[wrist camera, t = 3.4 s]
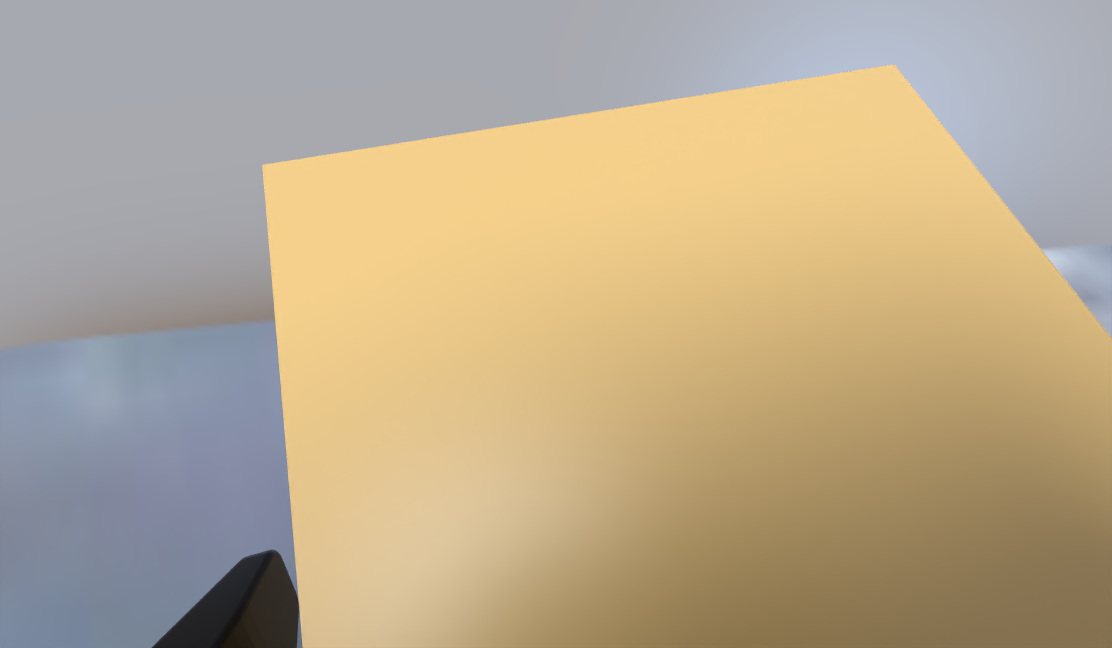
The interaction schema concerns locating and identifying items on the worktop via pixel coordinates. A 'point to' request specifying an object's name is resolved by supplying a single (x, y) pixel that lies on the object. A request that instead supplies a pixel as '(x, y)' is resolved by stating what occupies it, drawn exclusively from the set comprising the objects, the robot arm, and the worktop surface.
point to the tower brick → (687, 386)
